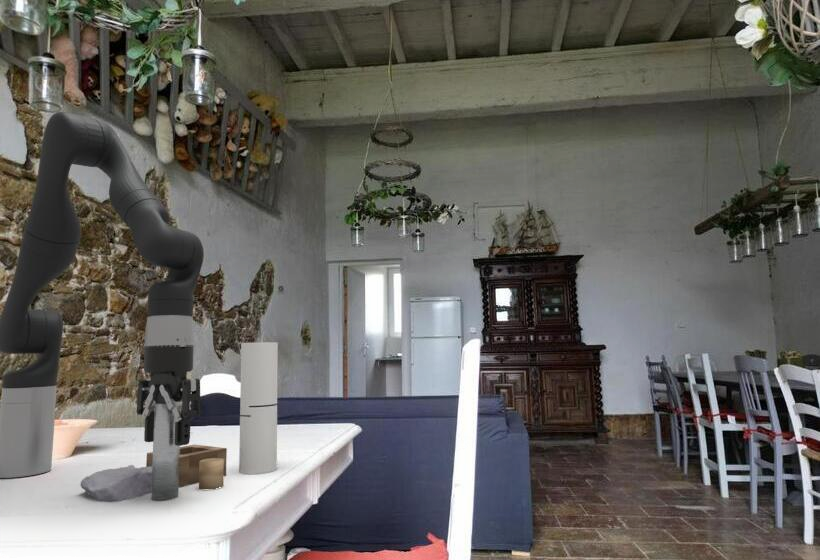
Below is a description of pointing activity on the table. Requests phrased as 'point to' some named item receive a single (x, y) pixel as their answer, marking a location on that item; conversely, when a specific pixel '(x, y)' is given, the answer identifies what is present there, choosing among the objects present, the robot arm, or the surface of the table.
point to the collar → (193, 461)
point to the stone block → (119, 483)
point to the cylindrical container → (258, 408)
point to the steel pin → (164, 455)
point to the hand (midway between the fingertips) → (166, 443)
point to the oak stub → (211, 473)
